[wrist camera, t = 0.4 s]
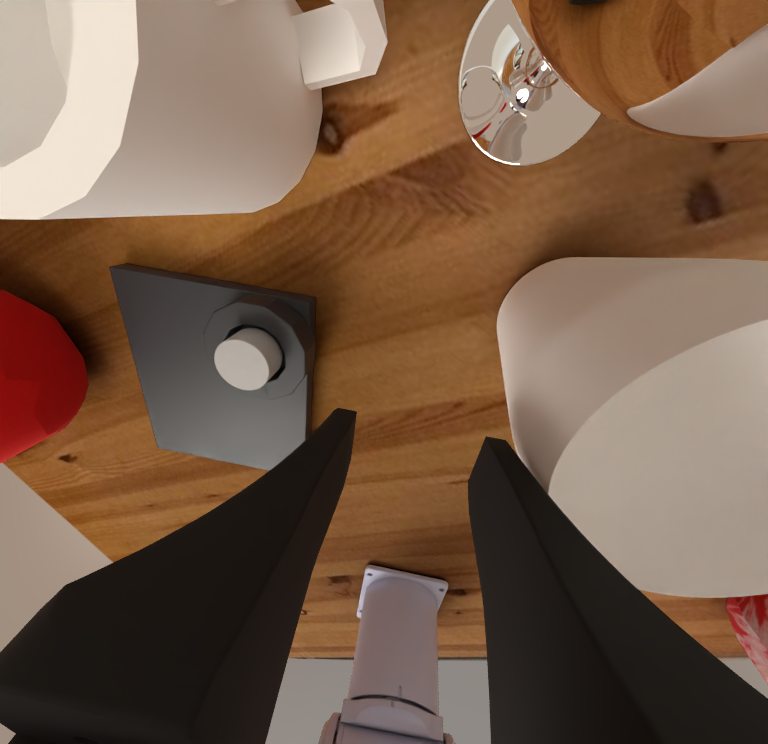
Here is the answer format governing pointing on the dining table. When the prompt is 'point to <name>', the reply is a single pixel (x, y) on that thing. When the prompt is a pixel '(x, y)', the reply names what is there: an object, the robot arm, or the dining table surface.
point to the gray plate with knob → (198, 370)
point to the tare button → (248, 358)
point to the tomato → (35, 376)
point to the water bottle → (751, 627)
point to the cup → (648, 412)
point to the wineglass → (612, 73)
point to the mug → (168, 101)
